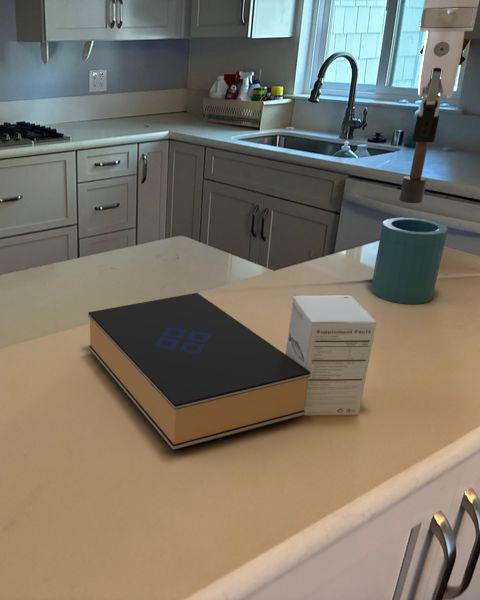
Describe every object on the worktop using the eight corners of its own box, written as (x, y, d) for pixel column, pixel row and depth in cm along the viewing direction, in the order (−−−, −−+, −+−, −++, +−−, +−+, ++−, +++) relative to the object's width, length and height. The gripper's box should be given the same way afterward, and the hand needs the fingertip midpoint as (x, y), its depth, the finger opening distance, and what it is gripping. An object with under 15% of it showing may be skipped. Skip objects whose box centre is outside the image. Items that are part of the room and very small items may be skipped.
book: (195, 332, 93) (197, 292, 91) (304, 421, 72) (311, 371, 69) (88, 353, 88) (88, 311, 85) (172, 456, 67) (175, 404, 64)
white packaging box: (280, 383, 80) (291, 294, 74) (338, 383, 79) (353, 293, 74) (297, 417, 73) (310, 320, 68) (360, 416, 72) (379, 320, 67)
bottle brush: (414, 197, 110) (432, 104, 104) (426, 202, 107) (446, 107, 100) (395, 198, 110) (412, 105, 103) (407, 203, 106) (426, 107, 100)
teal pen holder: (410, 281, 110) (423, 216, 105) (444, 302, 101) (461, 232, 96) (360, 284, 109) (371, 219, 104) (390, 306, 100) (404, 236, 96)
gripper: (477, 20, 89) (448, 149, 96) (473, 20, 101) (448, 135, 109) (418, 22, 92) (395, 146, 99) (421, 22, 105) (401, 132, 112)
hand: (423, 139), depth 104 cm, fingers closed on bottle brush
